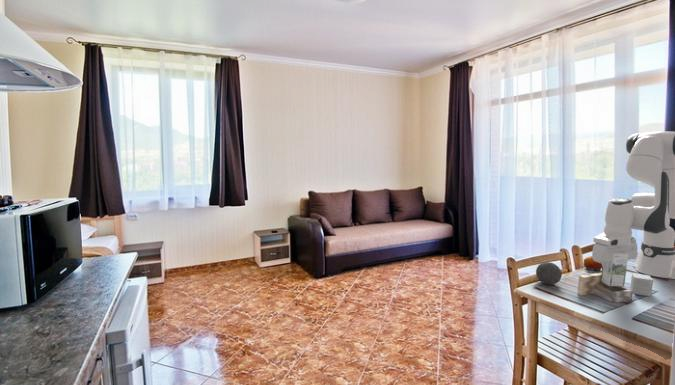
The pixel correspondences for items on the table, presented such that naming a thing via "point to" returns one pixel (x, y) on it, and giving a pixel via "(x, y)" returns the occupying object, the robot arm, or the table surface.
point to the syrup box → (616, 271)
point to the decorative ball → (548, 273)
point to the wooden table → (602, 288)
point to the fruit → (592, 264)
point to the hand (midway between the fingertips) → (613, 270)
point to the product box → (641, 284)
